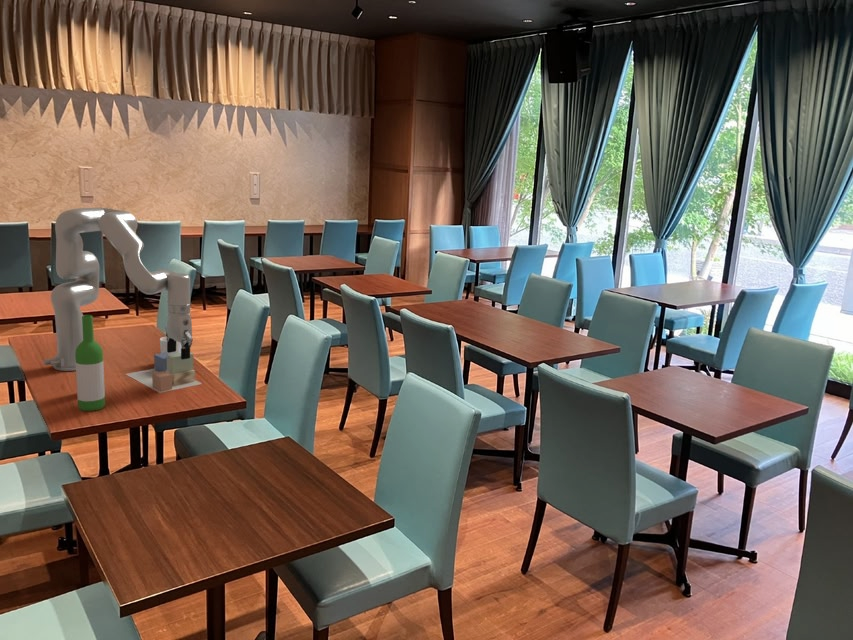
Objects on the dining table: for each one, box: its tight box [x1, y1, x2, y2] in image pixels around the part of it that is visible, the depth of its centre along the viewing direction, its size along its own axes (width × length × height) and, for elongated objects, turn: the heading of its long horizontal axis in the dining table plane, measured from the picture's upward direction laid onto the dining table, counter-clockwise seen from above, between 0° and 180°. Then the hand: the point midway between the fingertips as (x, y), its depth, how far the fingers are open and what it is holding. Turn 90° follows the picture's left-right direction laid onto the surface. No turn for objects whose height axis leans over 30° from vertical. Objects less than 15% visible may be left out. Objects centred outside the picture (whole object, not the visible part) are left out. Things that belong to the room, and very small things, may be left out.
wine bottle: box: [75, 314, 106, 412], centre depth 214 cm, size 8×8×30 cm
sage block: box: [167, 352, 195, 374], centre depth 245 cm, size 8×4×6 cm, turn 138°
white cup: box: [159, 336, 182, 355], centre depth 266 cm, size 8×8×10 cm
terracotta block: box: [152, 371, 172, 391], centre depth 238 cm, size 4×6×5 cm, turn 48°
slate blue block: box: [153, 352, 168, 372], centre depth 256 cm, size 7×4×6 cm, turn 48°
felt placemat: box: [125, 368, 203, 394], centre depth 248 cm, size 16×26×1 cm, turn 48°
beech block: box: [166, 369, 196, 385], centre depth 246 cm, size 8×6×4 cm
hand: (178, 355), depth 245 cm, fingers open, 9 cm apart
